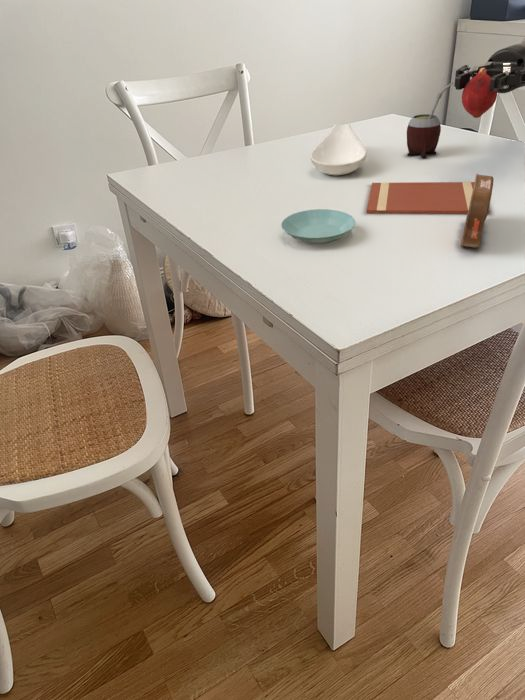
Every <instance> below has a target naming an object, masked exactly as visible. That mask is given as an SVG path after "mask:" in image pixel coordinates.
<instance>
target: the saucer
mask: <svg viewBox="0 0 525 700" xmlns="http://www.w3.org/2000/svg"><path fill="white" fill-rule="evenodd" d="M280 225H281V229H282V230H283V231H284V232H285V233H286V234H287V235H289V236H290V237H292V238H294V239H296V240H297V241H300V242H303V243H308V244H326V243H331V242H333V241H336V240H339V239H340V238H343V237H344V236H345V235H346V234H348V233H349V232H350V231H351V230H352V229H353V228H355V225H356V219H355V217H353V215H351V214H349V213H347V212H344V211H341V210H337V209H329V208H328V209H327V208H323V209H322V208H318V209H317V208H315V209H306V210H302V211H297V212H294V213H292V214H290V215H288V216H287V217H285V218H283V220H282V221H281V224H280Z"/></svg>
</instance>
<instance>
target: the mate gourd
mask: <svg viewBox="0 0 525 700" xmlns="http://www.w3.org/2000/svg"><path fill="white" fill-rule="evenodd" d="M453 84H454V81H452V82H451V83H449V84H448V85H446V86H445V87H443V88H442V89H441V90H440V92H438V93H437V96H436V100H435V102H434V105H433V107H432V108H431V112H430V114H429V113H427V114H426V113H423V114H416V115H414V116H412V117H411V119H410V120H409V122H408V124H407V128H406V146H407V149H408V150H407V151H408V153H407V154H406V155H407V157H418V156H419V157H420V158H421V159H422V160H426V159H427V156H432V155H433V156H434V155H437V151H436V149H437V148H438V144H439V141H440V137H441V132H442V130H441V129H442V126H441V121H440V119H439V117H438V116H437V115H435V112H436V108H437V106H438V104H439V101H440V100H441V98H442V96H443V94H444V93H445V91H447V90H448V89H449V88H450V87H451V86H452V85H453Z"/></svg>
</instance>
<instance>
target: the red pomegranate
mask: <svg viewBox="0 0 525 700" xmlns="http://www.w3.org/2000/svg"><path fill="white" fill-rule="evenodd" d="M486 71H487V70H486V69H485V68H481V69H480V71H479V72H478V74H477V75H476V76H474V77H473V78H472V77H471V78H470V81H469V82H468V83H467V84H466V86H465V87H464V88H463V89H462V93H461V104H462V106H463V108H464V110H465V111H466V112H467V113H468V114H469V115H471V116H472V117H473V118H474V119H479V118H480V117H481V116H483V115H484V114H485V113H487V112H488V111H489V110H490V109H491V108H492V107H493V106H494V105H495V103H496V101H497V98H498V93H497V90H496V91H490V82H491V77H490V76H489V75H487V74H486Z"/></svg>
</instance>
